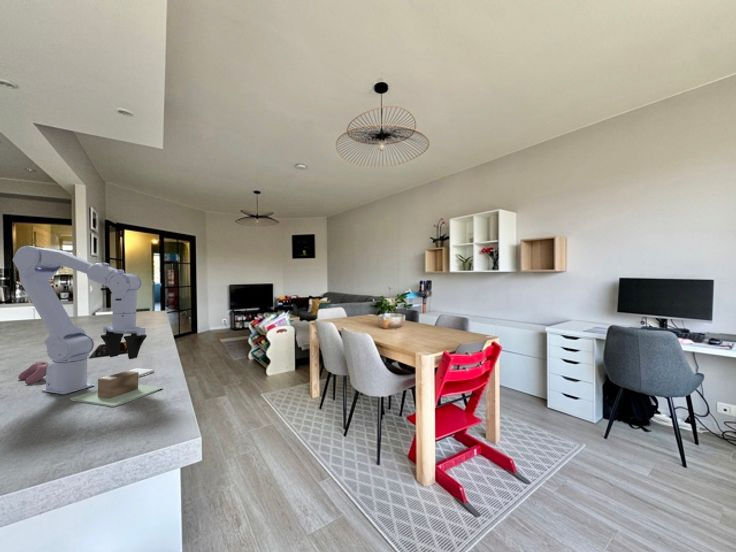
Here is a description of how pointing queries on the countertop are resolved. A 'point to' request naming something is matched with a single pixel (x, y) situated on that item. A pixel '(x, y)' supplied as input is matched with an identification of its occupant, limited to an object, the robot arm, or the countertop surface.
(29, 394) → the countertop surface
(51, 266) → the robot arm
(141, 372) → the external hard drive
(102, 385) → the labeled brown box
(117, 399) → the sage mat
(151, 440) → the countertop surface
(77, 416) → the countertop surface
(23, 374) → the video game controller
